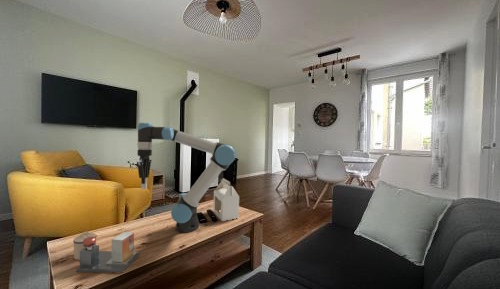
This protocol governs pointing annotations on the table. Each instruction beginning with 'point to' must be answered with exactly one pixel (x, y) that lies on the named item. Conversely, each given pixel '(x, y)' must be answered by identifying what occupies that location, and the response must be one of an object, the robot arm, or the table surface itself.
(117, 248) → the small box
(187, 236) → the table surface
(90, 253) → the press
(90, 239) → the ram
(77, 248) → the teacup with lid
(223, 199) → the gable box
